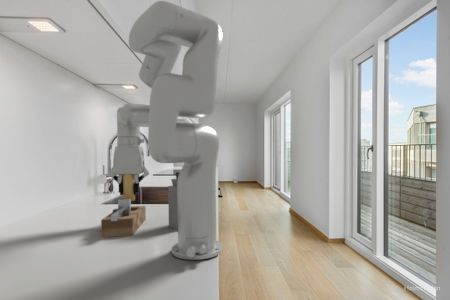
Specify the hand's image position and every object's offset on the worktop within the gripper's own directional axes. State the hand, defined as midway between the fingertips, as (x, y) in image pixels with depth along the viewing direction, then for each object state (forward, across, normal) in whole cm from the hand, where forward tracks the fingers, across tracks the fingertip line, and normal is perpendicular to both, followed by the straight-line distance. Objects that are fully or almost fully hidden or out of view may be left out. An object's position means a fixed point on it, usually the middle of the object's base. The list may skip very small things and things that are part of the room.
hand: (129, 193), depth 99 cm
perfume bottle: (+10, -19, +6) cm, 23 cm away
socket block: (+10, 0, +5) cm, 12 cm away
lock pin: (+5, 0, +12) cm, 13 cm away
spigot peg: (+2, 0, 0) cm, 2 cm away
